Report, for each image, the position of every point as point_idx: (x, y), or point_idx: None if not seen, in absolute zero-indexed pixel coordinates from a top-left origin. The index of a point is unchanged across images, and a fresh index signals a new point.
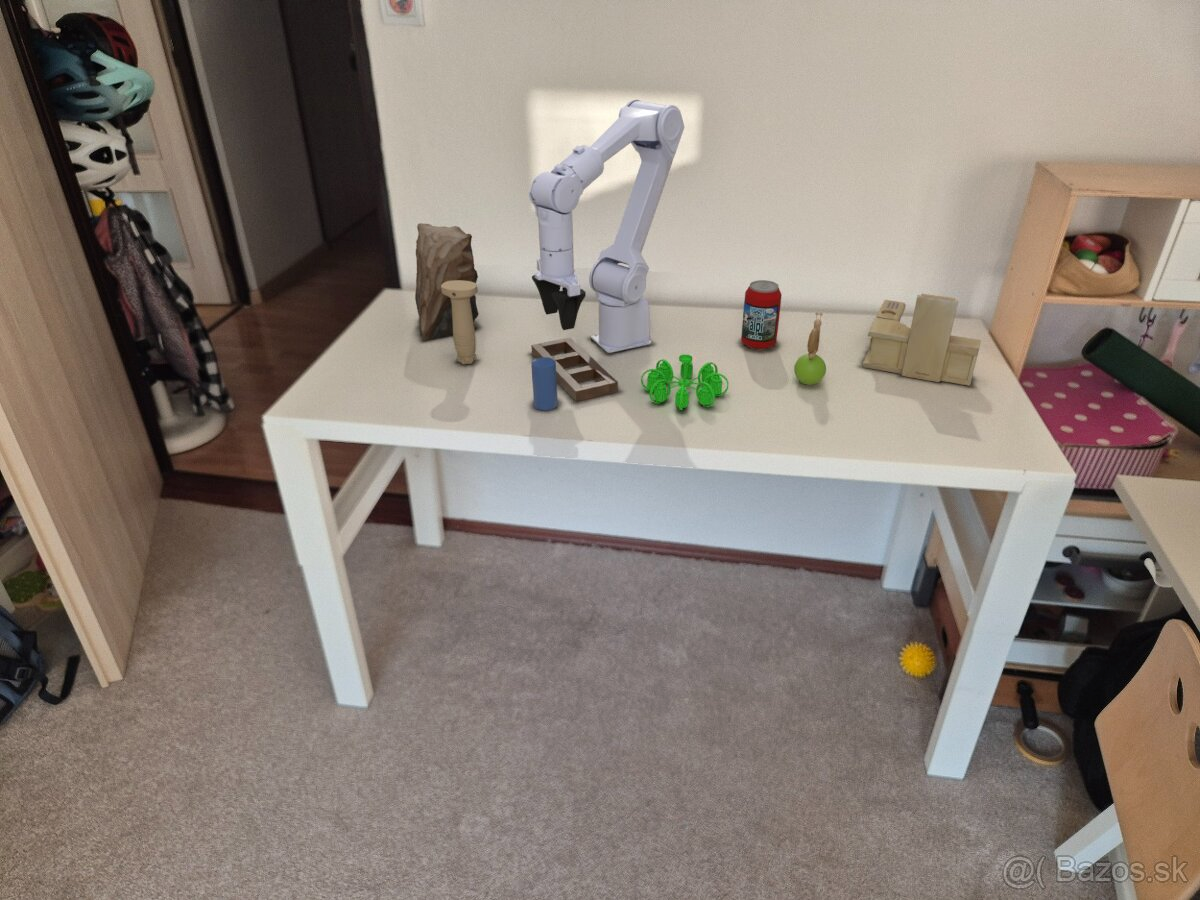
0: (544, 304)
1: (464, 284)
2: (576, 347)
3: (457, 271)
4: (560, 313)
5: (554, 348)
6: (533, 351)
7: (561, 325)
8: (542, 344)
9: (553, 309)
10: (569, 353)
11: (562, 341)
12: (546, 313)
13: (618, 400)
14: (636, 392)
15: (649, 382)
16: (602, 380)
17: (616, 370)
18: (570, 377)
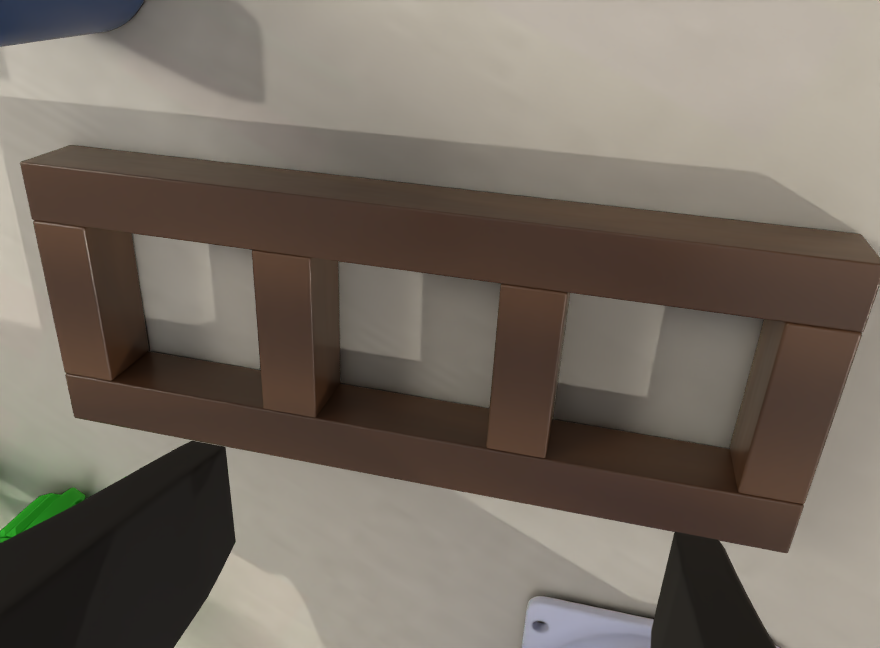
0: (697, 626)
1: None
2: (601, 494)
3: None
4: (5, 551)
5: (753, 395)
6: (823, 243)
7: (181, 461)
8: (819, 343)
9: (657, 638)
10: (541, 413)
11: (758, 480)
12: (675, 539)
13: (35, 339)
14: (88, 447)
15: (21, 519)
16: (167, 377)
17: (334, 510)
18: (206, 232)
